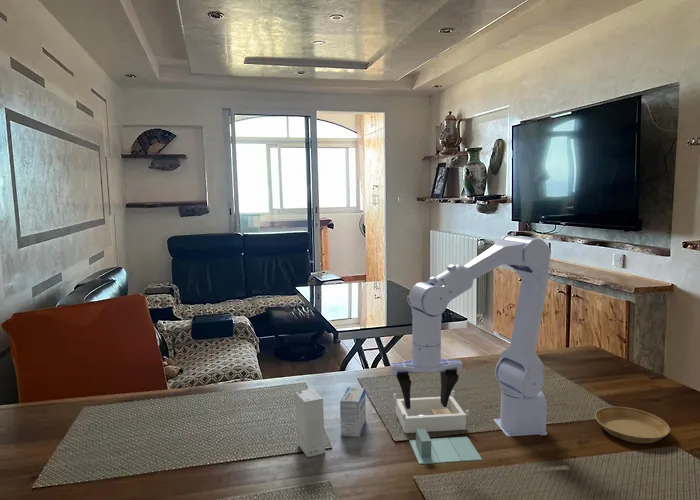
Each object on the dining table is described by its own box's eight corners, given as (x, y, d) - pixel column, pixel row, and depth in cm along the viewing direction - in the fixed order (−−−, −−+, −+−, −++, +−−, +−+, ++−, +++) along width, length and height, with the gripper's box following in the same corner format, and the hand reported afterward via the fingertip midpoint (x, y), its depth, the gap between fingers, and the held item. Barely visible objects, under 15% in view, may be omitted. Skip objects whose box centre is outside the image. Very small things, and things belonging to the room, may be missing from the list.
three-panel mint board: (467, 440, 110) (467, 421, 109) (482, 463, 101) (482, 442, 100) (409, 444, 109) (409, 424, 108) (419, 468, 100) (419, 446, 99)
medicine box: (360, 439, 110) (359, 402, 109) (340, 437, 111) (339, 400, 110) (366, 422, 118) (365, 387, 117) (347, 420, 119) (347, 386, 118)
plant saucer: (592, 439, 110) (593, 428, 110) (595, 411, 123) (595, 401, 123) (672, 456, 103) (673, 444, 103) (666, 424, 116) (666, 414, 116)
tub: (453, 410, 124) (453, 390, 123) (468, 432, 113) (469, 410, 112) (393, 413, 122) (393, 393, 121) (402, 436, 111) (403, 414, 110)
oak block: (447, 418, 118) (447, 408, 118) (451, 424, 115) (451, 414, 115) (430, 419, 118) (431, 409, 117) (434, 425, 115) (434, 415, 115)
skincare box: (326, 453, 105) (325, 398, 103) (305, 458, 103) (304, 402, 101) (315, 439, 110) (314, 387, 109) (295, 444, 108) (294, 391, 107)
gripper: (455, 334, 106) (453, 395, 108) (387, 337, 104) (387, 399, 106) (466, 345, 99) (464, 410, 101) (394, 348, 97) (393, 414, 99)
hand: (425, 405), depth 103 cm, fingers open, 7 cm apart
